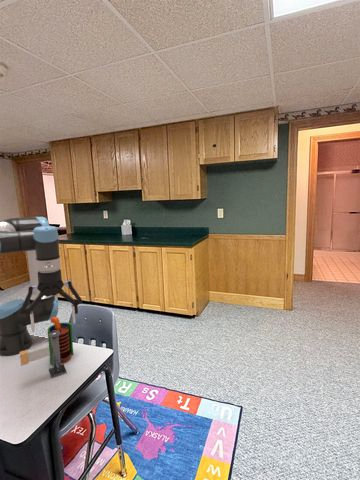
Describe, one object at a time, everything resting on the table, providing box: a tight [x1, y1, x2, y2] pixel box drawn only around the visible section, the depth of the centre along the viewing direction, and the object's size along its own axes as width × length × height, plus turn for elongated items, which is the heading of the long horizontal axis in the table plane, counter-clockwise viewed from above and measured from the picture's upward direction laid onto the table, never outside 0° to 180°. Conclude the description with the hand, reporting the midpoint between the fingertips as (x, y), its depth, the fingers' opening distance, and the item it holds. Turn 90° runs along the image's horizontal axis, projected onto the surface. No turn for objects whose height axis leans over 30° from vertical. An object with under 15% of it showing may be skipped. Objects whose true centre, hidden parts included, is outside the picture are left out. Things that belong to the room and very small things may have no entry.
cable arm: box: [19, 344, 50, 366], centre depth 107 cm, size 3×10×5 cm, turn 124°
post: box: [47, 330, 68, 379], centre depth 111 cm, size 6×6×18 cm
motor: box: [47, 316, 74, 366], centre depth 120 cm, size 10×9×20 cm
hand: (54, 325), depth 96 cm, fingers open, 13 cm apart
